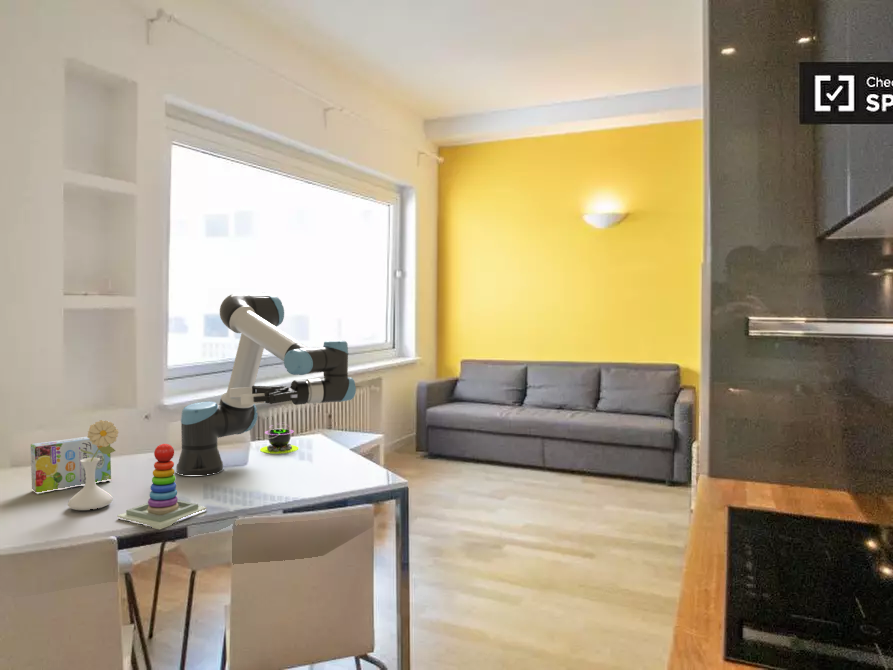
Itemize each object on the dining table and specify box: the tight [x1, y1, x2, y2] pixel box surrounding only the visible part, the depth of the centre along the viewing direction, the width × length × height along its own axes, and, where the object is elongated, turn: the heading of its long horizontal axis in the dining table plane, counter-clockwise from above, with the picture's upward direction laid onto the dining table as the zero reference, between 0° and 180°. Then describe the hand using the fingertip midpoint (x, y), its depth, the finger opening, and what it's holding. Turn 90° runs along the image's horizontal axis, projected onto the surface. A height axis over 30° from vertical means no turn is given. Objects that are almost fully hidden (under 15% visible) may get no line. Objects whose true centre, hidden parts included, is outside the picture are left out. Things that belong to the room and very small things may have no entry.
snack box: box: [30, 436, 112, 492], centre depth 204 cm, size 21×6×15 cm, turn 134°
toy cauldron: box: [259, 423, 299, 455], centre depth 258 cm, size 15×15×11 cm
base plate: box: [117, 499, 207, 530], centre depth 179 cm, size 16×16×2 cm
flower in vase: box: [67, 419, 120, 511], centre depth 185 cm, size 13×11×25 cm
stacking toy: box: [147, 443, 179, 515], centre depth 178 cm, size 8×8×19 cm
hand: (235, 396), depth 188 cm, fingers open, 13 cm apart
